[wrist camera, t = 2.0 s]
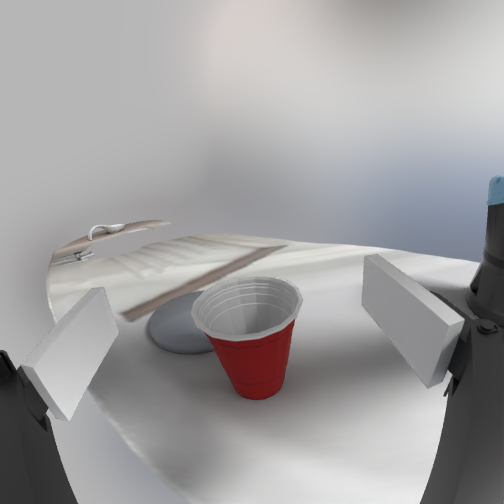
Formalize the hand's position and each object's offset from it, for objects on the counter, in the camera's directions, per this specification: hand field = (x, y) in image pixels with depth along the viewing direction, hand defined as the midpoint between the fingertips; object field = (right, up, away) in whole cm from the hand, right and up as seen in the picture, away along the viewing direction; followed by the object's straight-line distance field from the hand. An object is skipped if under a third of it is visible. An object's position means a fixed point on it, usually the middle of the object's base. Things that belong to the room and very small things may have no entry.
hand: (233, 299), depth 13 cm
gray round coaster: (-8, -9, +32) cm, 35 cm away
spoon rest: (-81, +12, +126) cm, 150 cm away
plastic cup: (+2, -14, +17) cm, 22 cm away
